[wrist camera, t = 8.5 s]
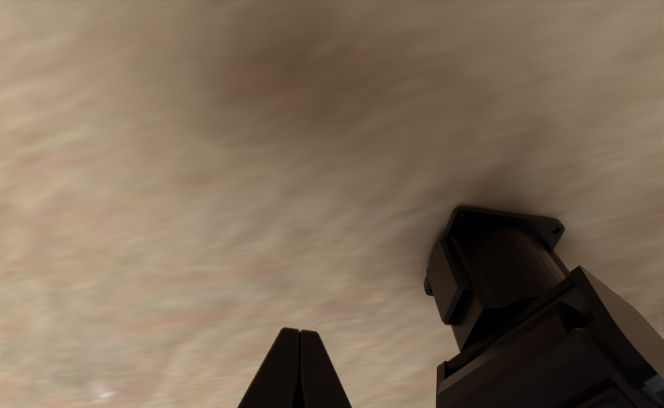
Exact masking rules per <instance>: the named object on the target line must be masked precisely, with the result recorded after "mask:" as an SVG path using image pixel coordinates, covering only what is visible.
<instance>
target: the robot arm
mask: <svg viewBox="0 0 664 408" xmlns="http://www.w3.org/2000/svg"><path fill="white" fill-rule="evenodd" d="M462 214H466V215H465V216H464V217H460V215H462ZM555 227H556V228H555ZM553 228H555V229H554V230H552V229H553ZM564 230H565V228H564V226H563V224H562V223H561V222H560V221H559V220H556V219H549V218H542V217H535V216H528V215H521V214H514V213H507V212H500V211H494V210H487V209H480V208H473V207H466V206H461V207H458V208H457V209H455V210H454V212H453V214H452V216H451V219H450V221H449V224H448V226H447V229H446V231H445V234H444V236H443V238H441V239H440V240H439V241H438V243H437V246H436V248H435V251H434V253H433V256H432V258H431V261H430V263H429V266H428V268H427V271H426V272H427V278H426V281H425V283H424V290H425V293H426V294H427V295H429V296H434V298H435V301H436V304H437V307H438V310H439V313H440V317H441V320H442V321H443V323H444V324H445V325H451V327H452V330H453V333H454V336H455V339H456V342H457V345H458V348H459V351H460V353H459V354H458V355H456V356H455V357H453V358H452V359H451V360H449V361H448V362H447V361H444V362H443V363H442V364H440V365H439V366H437V386H436V408H664V339H663V338H662V337H661V336H660V335H659V334H658V333H657V332H656V331H655V330H654V328H653V327H652V326H651V325H650V324H649V323H648V322H647V321H646V320H645V319H644V318H643V316H642V315H641V314H640V313H639V312H638V311H637V310H636V309H635V308H634V307H632V306H631V305H630V304H629V303H627V302H626V301H625V300H623V299H622V298H621V297H620V296H618V295H617V294H616V293H615V292H613V291H612V290H611V289H610V288H608V287H607V286H606V285H604V284H603V283H602V282H601V281H599V280H598V279H597V278H596V277H594V276H593V275H592V274H591V273H589V272H588V271H587V270H586V269H584V268H583V267H582V266H580V265H579V266H578V267H576V268H575V269H574V270H572V271H571V272H569V270H568V269H567V268H566V266H565V265H564V264H563V262H562V261H561V260H560V258H559V257H558V256H557V254H556V253H555V252H554V250H553V249H554V248H555V246H556V244H557V242H558V241H559V239H560V237H561V236H562V234H563V232H564ZM430 288H431V289H430ZM237 408H352V407H351V405H350V402H349V400H348V398H347V396H346V393H345V391H344V389H343V387H342V385H341V382H340V380H339V378H338V376H337V373H336V371H335V369H334V367H333V365H332V362H331V360H330V358H329V356H328V353H327V351H326V349H325V347H324V345H323V342H322V340H321V338H320V336H319V334H318V333H317V332H316V331H310V330H301V331H300V332H299V330H298V329H295V328H287V327H284V328H282V329H281V330H280V332H279V334H278V336H277V338H276V339H275V341H274V343H273V345H272V347H271V348H270V350H269V352H268V354H267V355H266V357H265V359H264V361H263V363H262V364H261V366H260V368H259V370H258V372H257V373H256V375H255V377H254V379H253V380H252V382H251V384H250V386H249V388H248V389H247V391H246V393H245V395H244V397H243V398H242V400H241V402H240V404H239V405H238V407H237Z"/></svg>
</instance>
